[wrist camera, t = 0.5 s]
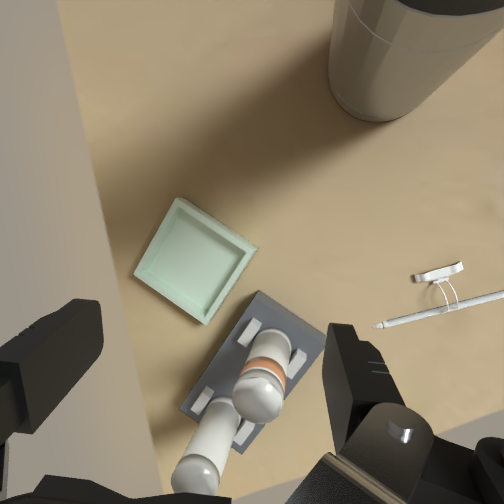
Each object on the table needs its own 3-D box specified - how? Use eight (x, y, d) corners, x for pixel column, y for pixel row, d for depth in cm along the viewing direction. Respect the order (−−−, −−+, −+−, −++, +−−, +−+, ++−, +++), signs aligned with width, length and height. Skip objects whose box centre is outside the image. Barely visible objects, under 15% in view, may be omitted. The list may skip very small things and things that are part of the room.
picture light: (373, 329, 33) (376, 337, 30) (359, 288, 32) (362, 293, 30) (531, 289, 29) (547, 295, 27) (517, 243, 29) (532, 245, 27)
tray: (183, 197, 34) (175, 197, 32) (258, 248, 33) (255, 250, 31) (142, 270, 36) (132, 274, 34) (212, 318, 35) (206, 325, 33)
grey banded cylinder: (267, 319, 31) (249, 366, 23) (299, 341, 31) (293, 396, 22) (247, 348, 32) (222, 403, 23) (278, 369, 32) (264, 433, 23)
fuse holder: (259, 289, 34) (252, 300, 30) (325, 335, 33) (326, 351, 29) (187, 395, 37) (174, 416, 33) (246, 438, 36) (239, 463, 33)
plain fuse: (219, 388, 33) (185, 454, 25) (248, 409, 33) (225, 484, 24) (201, 413, 34) (162, 486, 25) (230, 434, 34) (201, 515, 25)
